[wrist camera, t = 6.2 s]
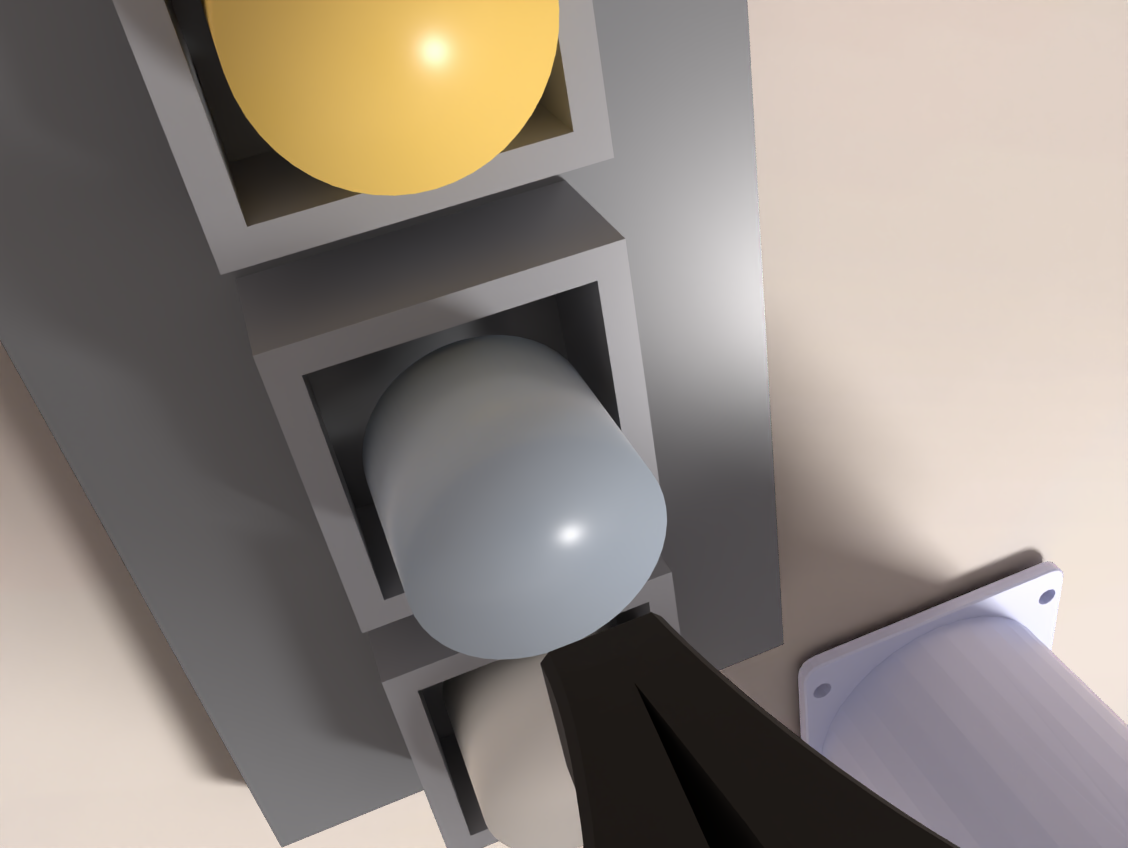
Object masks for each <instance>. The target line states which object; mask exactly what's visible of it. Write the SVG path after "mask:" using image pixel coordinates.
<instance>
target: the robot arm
mask: <svg viewBox="0 0 1128 848" xmlns="http://www.w3.org/2000/svg"><path fill="white" fill-rule="evenodd" d="M1062 581H1063V572H1062V570H1061V569H1060V568H1058V567H1057V566H1056V565H1055V564H1054V563H1053V562H1048V561H1047V562H1043V563H1039V564H1037V565H1035V566H1032V567H1030V568H1027V569H1025V570H1022V571H1020V572H1018V573H1015V574H1013V575H1010V576H1008V577H1005V578H1003V579H1000V580H998V581H996V582H993V583H991V584H988V585H986V586H983V587H981V588H978V589H976V590H974V591H971V592H969V593H966V594H964V595H961V596H959V597H957V598H954V599H952V600H949V601H947V602H944V603H942V604H939V605H937V606H935V607H932V608H930V609H927V610H925V611H922V612H920V613H917V614H915V615H913V616H910V617H908V618H905V619H903V620H900V621H898V622H896V623H893V624H891V625H888V626H886V627H883V628H881V629H878V630H876V631H874V632H871V633H869V634H866V635H864V636H861V637H859V638H856V639H854V640H852V641H849V642H847V643H844V644H842V645H839V646H837V647H835V648H832V649H830V650H827V651H825V652H822V653H820V654H817V655H815V656H813V657H811V658H809V659H808V660H807V661H805V662H804V663H803V665H802V666H801V668H800V670H799V674H798V685H799V707H800V729H801V738H800V737H798V736H797V735H796V734H795V733H793V732H792V731H791V730H789V729H788V728H787V727H786V726H784V725H783V724H782V723H781V722H779V721H778V720H777V719H775V718H774V717H773V716H772V715H770V714H769V713H768V712H767V711H765V710H764V709H763V708H762V707H760V706H759V705H758V704H757V703H756V702H754V701H753V700H752V699H751V698H750V697H748V696H747V695H746V694H745V693H744V692H742V691H741V690H740V689H739V688H738V687H737V686H736V685H734V684H733V683H732V682H731V681H730V680H729V679H728V678H726V677H725V676H724V675H723V674H722V673H721V672H719V671H718V670H717V669H716V668H715V667H714V666H713V665H712V664H711V663H709V662H708V661H707V660H706V659H705V658H704V657H703V656H702V655H701V654H700V653H699V652H697V651H696V650H695V649H694V648H693V647H692V646H691V645H690V644H689V643H688V642H687V641H686V640H685V639H684V638H683V637H682V636H681V635H680V634H679V633H678V632H677V631H676V630H675V629H674V628H673V627H672V626H671V625H670V624H669V623H668V622H667V621H666V620H665V619H664V618H663V617H662V616H660V615H657V614H655V613H652V612H650V613H648V614H645V615H643V616H640V617H638V618H635V619H632V620H630V621H627V622H625V623H622V624H620V625H617V626H614V627H612V628H609V629H607V630H604V631H602V632H599V633H596V634H594V635H591V636H589V637H586V638H584V639H581V640H578V641H576V642H573V643H571V644H568V645H566V646H563V647H560V648H558V649H555V650H553V651H550V652H548V653H547V655H546V656H545V657H544V659H543V660H542V661H541V663H540V665H541V668H542V672H543V676H544V680H545V684H546V688H547V692H548V696H549V700H550V703H551V707H552V711H553V715H554V719H555V723H556V727H557V731H558V734H559V738H560V742H561V746H562V750H563V754H564V758H565V762H566V765H567V768H568V771H569V773H570V776H571V779H572V781H573V784H574V787H575V789H576V796H577V803H578V809H579V816H580V822H581V830H582V839H583V848H1128V725H1127V724H1126V723H1125V722H1124V721H1123V720H1122V719H1121V718H1120V717H1119V716H1118V715H1117V714H1116V713H1115V712H1114V711H1113V710H1112V709H1110V708H1109V707H1108V706H1107V705H1106V704H1105V703H1104V702H1103V701H1102V700H1101V699H1100V698H1099V697H1098V696H1097V695H1096V694H1095V693H1094V692H1093V691H1092V690H1091V689H1090V688H1089V687H1088V686H1087V685H1086V684H1085V683H1084V682H1083V681H1082V680H1081V679H1080V678H1079V677H1078V676H1076V675H1075V674H1074V673H1073V672H1072V671H1071V670H1070V669H1069V668H1068V667H1067V666H1066V665H1065V664H1064V663H1063V662H1062V661H1061V660H1060V659H1059V658H1058V657H1057V656H1056V655H1055V654H1054V653H1053V652H1052V651H1051V649H1052V643H1053V637H1054V631H1055V625H1056V618H1057V612H1058V606H1059V600H1060V594H1061V587H1062Z"/></svg>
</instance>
